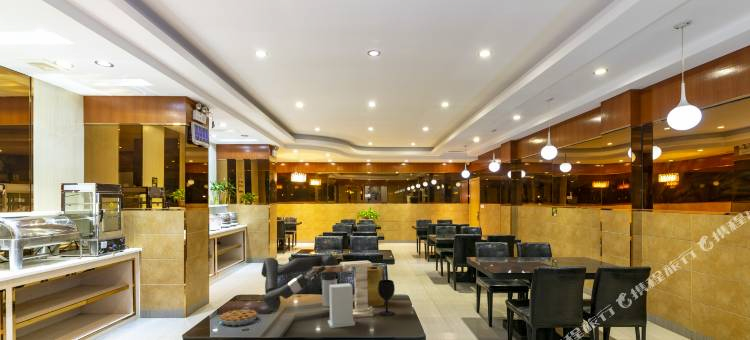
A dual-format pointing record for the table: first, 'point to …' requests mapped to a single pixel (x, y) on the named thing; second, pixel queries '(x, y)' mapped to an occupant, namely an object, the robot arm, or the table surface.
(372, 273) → the pitcher
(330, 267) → the peg
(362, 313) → the square pedestal column
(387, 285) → the wine glass
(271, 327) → the table surface
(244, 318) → the pie
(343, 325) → the white flanged block
